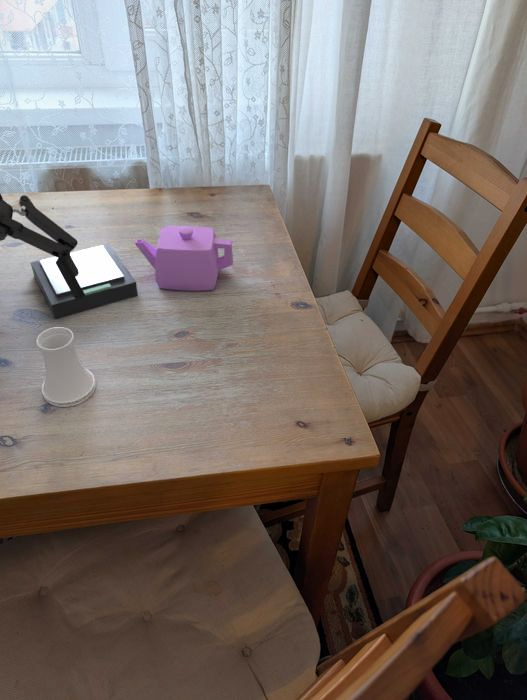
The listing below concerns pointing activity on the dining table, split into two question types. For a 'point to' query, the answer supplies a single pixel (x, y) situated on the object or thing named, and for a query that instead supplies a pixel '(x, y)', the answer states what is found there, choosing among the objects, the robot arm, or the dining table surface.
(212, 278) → the teapot
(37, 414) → the dining table surface
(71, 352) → the vase
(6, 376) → the dining table surface
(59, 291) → the scale
